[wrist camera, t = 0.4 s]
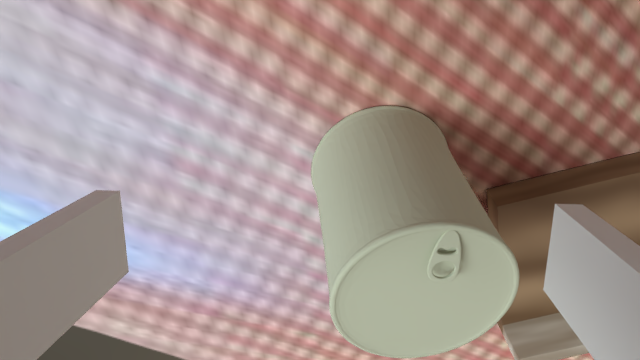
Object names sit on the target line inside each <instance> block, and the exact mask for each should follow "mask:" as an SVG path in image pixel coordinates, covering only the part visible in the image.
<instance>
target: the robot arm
mask: <svg viewBox="0 0 640 360" xmlns="http://www.w3.org/2000/svg"><path fill="white" fill-rule="evenodd" d="M127 273H128V262H127V253H126V244H125V235H124V226H123V217H122V207H121V198H120V191H104V190H96V191H94V192H92V193H90V194H88V195H87V196H85V197H83V198H81V199H79V200H77V201H75V202H73V203H72V204H70V205H68V206H66V207H64V208H62V209H60V210H59V211H57V212H55V213H53V214H51V215H49V216H47V217H46V218H44V219H42V220H40V221H38V222H36V223H34V224H32V225H31V226H29V227H27V228H25V229H23V230H21V231H19V232H18V233H16V234H14V235H12V236H10V237H8V238H6V239H5V240H3V241H1V242H0V360H37V359H38V357H40V356H41V355H42V354H43V353H44V352H45V351H46V350H47V349H48V348H49V347H50V346H51V345H52V344H53V343H54V342H55V341H56V340H58V339H59V337H61V336H62V335H63V333H65V332H66V331H67V330H68V329H69V328H70V327H71V326H72V325H73V324H74V323H75V322H76V321H77V320H78V319H80V318H81V317H82V316H83V315H84V314H85V313H86V312H87V311H88V310H89V309H90V308H91V307H92V306H93V305H94V304H95V303H96V302H97V301H98V300H99V299H100V298H102V297H103V296H104V295H105V294H106V293H107V292H108V291H109V290H110V289H111V288H112V287H113V286H114V285H115V284H116V283H117V282H118V281H119V280H120V279H121V278H122V277H124V276H125V275H126V274H127ZM543 290H544V291H545V293H546V294H547V296H548V297H549V298H550V300H551V301H552V302H553V304H554V305H555V306H556V308H557V309H558V311H559V312H560V313H561V315H562V316H563V317H564V319H565V320H566V321H567V323H568V324H569V326H570V327H571V328H572V330H573V331H574V332H575V334H576V335H577V336H578V338H579V339H580V341H581V342H582V343H583V345H584V346H585V347H586V349H587V350H588V351H589V353H590V354H591V356H592V357H593V358H594V360H640V246H639V245H637V244H636V243H635V242H633V241H632V240H631V239H629V238H628V237H626V236H625V235H624V234H622V233H621V232H620V231H618V230H617V229H615V228H614V227H613V226H611V225H610V224H609V223H607V222H606V221H605V220H603V219H602V218H600V217H599V216H598V215H596V214H595V213H594V212H592V211H591V210H589V209H588V208H587V207H585V206H584V205H583V204H555V207H554V215H553V222H552V230H551V237H550V244H549V252H548V259H547V266H546V274H545V281H544V288H543Z"/></svg>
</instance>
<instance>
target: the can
mask: <svg viewBox="0 0 640 360" xmlns="http://www.w3.org/2000/svg"><path fill="white" fill-rule="evenodd" d="M311 178H312V183H313V187H314V190H315V192H316V195H317V202H318V208H319V215H320V222H321V229H322V237H323V244H324V252H325V261H326V269H327V277H328V285H329V296H330V299H329V307H330V314H331V317H332V320H333V322H334V325H335V327H336V328H337V330H338V331H339V333H340V334H341V335H342V336H343V337H344V338H345V339H346V340H347V341H349V342H350V343H351V344H353V345H354V346H356V347H358V348H360V349H362V350H364V351H367V352H369V353H372V354H376V355H380V356H385V357H392V358H417V357H426V356H431V355H436V354H440V353H443V352H447V351H450V350H453V349H455V348H458V347H460V346H463V345H465V344H467V343H469V342H471V341H472V340H474V339H476V338H478V337H479V336H481V335H482V334H484V333H485V332H487V331H488V330H489V329H490V328H492V327H493V326H494V325H495V324H496V323H497V322H498V321H499V320H500V319H501V318H502V317H503V316H504V314H505V313H506V312H507V311H508V309H509V308H510V306H511V305H512V303H513V301H514V298H515V296H516V294H517V291H518V286H519V278H520V277H519V268H518V264H517V260H516V258H515V256H514V254H513V252H512V251H511V249H510V248H509V247H508V246H507V245H506V244H505V242H504V241H503V239H502V238H501V236H500V235H499V233H498V231H497V230H496V228H495V227H494V225H493V223H492V222H491V220H490V218H489V217H488V215H487V213H486V212H485V210H484V208H483V207H482V205H481V203H480V202H479V200H478V198H477V197H476V195H475V193H474V192H473V190H472V188H471V187H470V185H469V183H468V182H467V180H466V178H465V177H464V175H463V173H462V172H461V170H460V168H459V166H458V165H457V163H456V161H455V160H454V158H453V156H452V154H451V152H450V150H449V149H448V145H447V142H446V139H445V137H444V135H443V133H442V132H441V130H440V129H439V128H438V126H437V125H436V124H435V123H434V122H433V121H432V120H430V119H429V118H428V117H426V116H425V115H423V114H421V113H419V112H417V111H415V110H412V109H409V108H405V107H399V106H377V107H371V108H367V109H364V110H361V111H358V112H355V113H353V114H351V115H349V116H347V117H346V118H344V119H342V120H341V121H340V122H338V123H337V124H336V125H334V126H333V127H332V128H331V129H330V130H329V131H328V132H327V133H326V135H325V136H324V137H323V138H322V140H321V141H320V143H319V145H318V147H317V149H316V151H315V154H314V156H313V160H312V166H311Z"/></svg>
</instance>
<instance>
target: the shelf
mask: <svg viewBox="0 0 640 360" xmlns="http://www.w3.org/2000/svg"><path fill="white" fill-rule="evenodd" d="M487 204H488V217H489V218H490V220H491V222H492V223H493V225H494V227H495V228H496V230H497V231H498V233H499V235H500V236H501V238H502V239H503V241H504V242H505V244H506V245H507V246H508V247H509V248H510V249H511V251H512V252H513V254H514V256H515V258H516V260H517V264H518V268H519V277H520V278H519V286H518V291H517V294H516V296H515V298H514V301H513V303H512V305H511V306H510V308H509V309H508V311H507V312H506V313H505V314H504V316H503V317H502V318H501V319H500V320H499V321H498V322H497V323H498V325H499V327H500V329H501V331H502V334H503V336H504V338H505V340H506V342H507V344H508V346H509V348H510V350H511V352H512V355H513V357H514V359H515V360H559V359H563V358H568V357H573V356H577V355H582V354H586V353H589V351H588V350H587V349H586V347H585V346H584V345H583V343H582V342H581V341H580V339H579V338H578V336H577V335H576V334H575V332H574V331H573V330H572V328H571V327H570V326H569V324H568V323H567V321H566V320H565V319H564V317H563V316H562V315H561V313H560V312H559V311H558V309H557V308H556V306H555V305H554V304H553V302H552V301H551V300H550V298H549V297H548V296H547V294H546V293H545V291H544V290H543V288H544V281H545V274H546V266H547V259H548V252H549V244H550V237H551V230H552V222H553V215H554V207H555V204H583V205H584V206H585V207H587V208H588V209H589V210H591V211H592V212H594V213H595V214H596V215H598V216H599V217H600V218H602V219H603V220H605V221H606V222H607V223H609V224H610V225H611V226H613V227H614V228H615V229H617V230H618V231H620V232H621V233H622V234H624V235H625V236H626V237H628V238H629V239H631V240H632V241H633V242H635V243H636V244H637V245H639V246H640V152H638V153H634V154H629V155H625V156H621V157H617V158H613V159H609V160H605V161H601V162H597V163H593V164H588V165H584V166H580V167H576V168H572V169H568V170H564V171H560V172H556V173H552V174H547V175H543V176H539V177H535V178H531V179H527V180H523V181H519V182H515V183H511V184H506V185H502V186H498V187H494V188H490V189H487Z"/></svg>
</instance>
